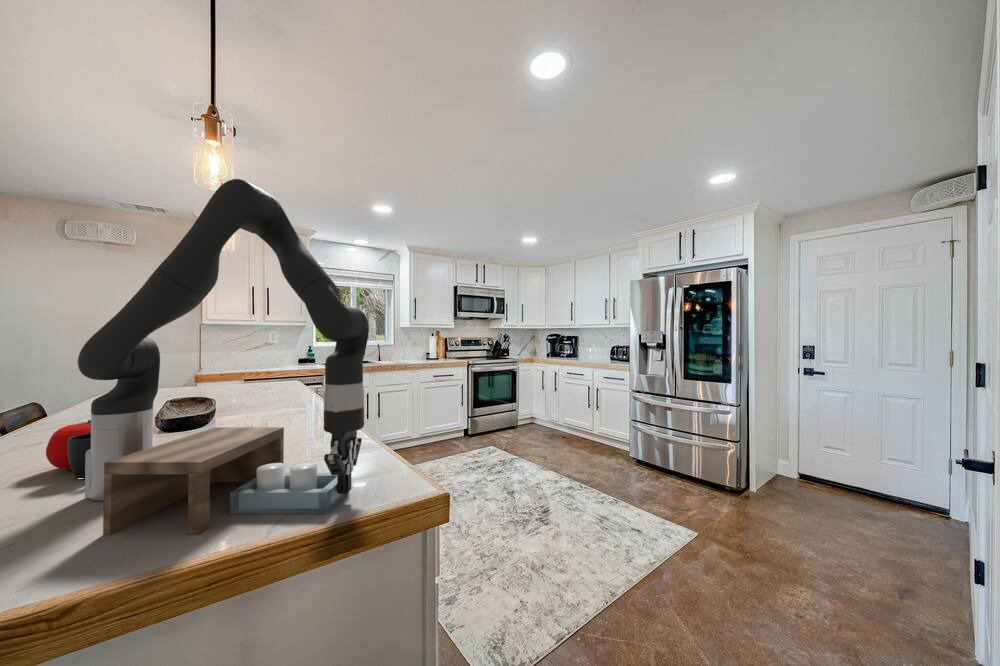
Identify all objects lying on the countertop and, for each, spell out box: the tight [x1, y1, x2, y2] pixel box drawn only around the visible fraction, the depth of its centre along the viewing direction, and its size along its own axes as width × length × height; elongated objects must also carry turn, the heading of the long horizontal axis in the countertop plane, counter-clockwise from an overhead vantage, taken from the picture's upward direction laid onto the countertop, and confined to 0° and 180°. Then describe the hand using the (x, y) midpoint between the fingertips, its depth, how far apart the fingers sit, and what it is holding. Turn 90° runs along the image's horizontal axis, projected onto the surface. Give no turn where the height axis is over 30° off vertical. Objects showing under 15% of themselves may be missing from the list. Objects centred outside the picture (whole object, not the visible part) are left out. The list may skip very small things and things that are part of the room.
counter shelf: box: [102, 426, 285, 536], centre depth 73 cm, size 16×24×12 cm, turn 1°
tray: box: [229, 462, 347, 515], centre depth 73 cm, size 18×10×7 cm, turn 91°
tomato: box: [45, 419, 91, 470], centre depth 94 cm, size 13×14×12 cm
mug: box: [67, 433, 91, 479], centre depth 87 cm, size 8×12×10 cm
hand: (344, 492), depth 74 cm, fingers closed
